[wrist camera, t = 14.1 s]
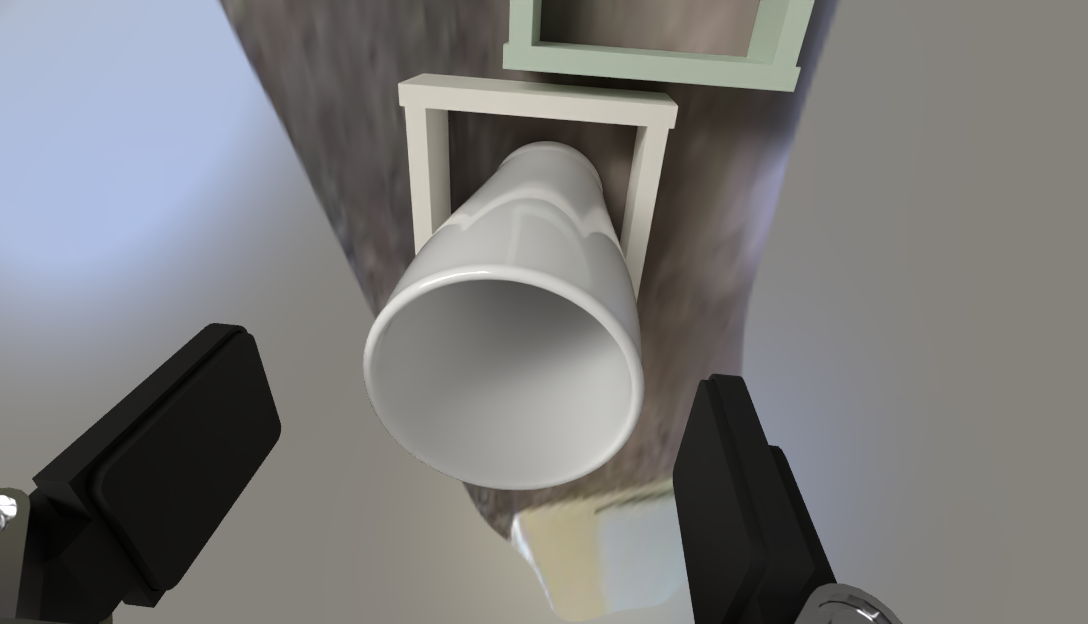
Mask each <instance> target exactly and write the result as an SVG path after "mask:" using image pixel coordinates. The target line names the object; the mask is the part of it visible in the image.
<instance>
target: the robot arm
mask: <svg viewBox="0 0 1088 624" xmlns="http://www.w3.org/2000/svg"><path fill="white" fill-rule="evenodd" d="M280 433H281V423H280V420H279V416H278V413H277V410H276V407H275V403H274V400H273V397H272V394H271V391H270V387H269V384H268V381H267V378H266V374H265V371H264V368H263V365H262V361H261V358H260V355H259V352H258V349H257V345H256V342H255V339H254V337H253V336H252V335H251V334H249V333H248V332H247V330H246V329H245V328H244V327H242V326H239V325H228V324H219V323H212V324H209V325H208V326H206V327H205V328H204V329H203V330H201V331H200V332H199V333H198V334H197V335H196V336H195V337H194V338H192V339H191V340H190V341H189V342H188V343H187V344H185V345H184V346H183V347H182V348H181V349H180V350H179V351H177V352H176V353H175V354H174V355H173V356H172V357H171V358H169V359H168V360H167V361H166V362H165V363H164V364H163V365H161V366H160V367H159V368H158V369H157V370H156V371H155V372H153V373H152V374H151V375H150V376H149V377H148V378H147V379H145V380H144V381H143V382H142V383H141V384H140V385H139V386H137V387H136V388H135V389H134V390H133V391H132V392H131V393H130V394H128V395H127V396H126V397H125V398H124V399H123V400H121V401H120V402H119V403H118V404H117V405H116V406H115V407H113V408H112V409H111V410H110V411H109V412H108V413H107V414H105V415H104V416H103V417H102V418H101V419H100V420H99V421H97V423H95V424H94V425H93V426H92V427H91V428H89V429H88V430H87V431H86V432H85V433H84V434H83V435H81V436H80V437H79V438H78V439H77V440H76V441H75V442H73V443H72V444H71V445H70V446H69V447H68V448H67V449H65V450H64V451H63V452H62V453H61V454H60V455H59V456H57V457H56V458H55V459H54V460H53V461H52V462H51V463H49V464H48V465H47V466H46V467H45V468H44V469H43V470H41V471H40V472H39V473H38V474H37V475H36V476H35V477H33V479H32V480H33V481H34V482H35V484H36V485H37V486H38V488H37V489H36V490H34V491H33V492H32V493H31V494H30V495H29V496H28V495H27V494H26V493H25V492H23V491H22V490H19V489H15V488H0V624H113V618H112V617H113V616H112V612H113V611H114V610H115V608H116V607H117V606H118V604H119V603H120V602H121V600H123V602H124V603H125V604H128V605H136V606H145V607H152V608H154V607H155V606H156V604H157V603H158V601H159V600H160V599H161V597H162V596H163V594H164V593H165V592H166V590H170V589H172V588H173V587H175V586H176V585H177V584H178V583H179V581H180V580H181V579H182V577H183V576H184V574H185V573H186V572H187V570H188V569H189V567H190V566H191V564H192V563H193V561H194V560H195V559H196V557H197V556H198V554H199V553H200V551H201V550H202V549H203V547H204V546H205V544H206V543H207V542H208V540H209V539H210V537H211V536H212V534H213V533H214V531H215V530H216V529H217V527H218V526H219V524H220V523H221V521H222V520H223V518H224V517H225V516H226V514H227V513H228V511H229V510H230V508H231V507H232V506H233V504H234V503H235V501H236V500H237V498H238V497H239V495H240V494H241V493H242V491H243V490H244V488H245V487H246V486H247V484H248V483H249V481H250V480H251V478H252V477H253V476H254V474H255V473H256V471H257V470H258V468H259V467H260V466H261V464H262V462H263V461H264V460H265V458H266V457H267V456H268V454H269V453H270V451H271V450H272V448H273V447H274V445H275V444H276V443H277V441H278V439H279V437H280ZM673 487H674V494H675V500H676V506H677V513H678V519H679V525H680V532H681V538H682V544H683V551H684V557H685V563H686V570H687V576H688V582H689V589H690V595H691V602H692V607H693V614H694V620H695V624H902V622H901V621H900V620H899V619H898V618H897V617H896V615H895V614H894V613H893V612H892V611H891V610H890V609H889V608H888V607H886V606H885V605H884V604H883V603H882V602H880V601H879V600H878V599H877V598H875V597H873V596H872V595H869V594H868V593H866V592H864V591H863V590H861V589H859V588H855V587H852V586H849V585H846V584H837V582H836V579H835V577H834V574H833V572H832V570H831V567H830V564H829V562H828V560H827V557H826V555H825V553H824V550H823V547H822V545H821V542H820V540H819V538H818V535H817V532H816V530H815V527H814V525H813V523H812V520H811V518H810V515H809V513H808V510H807V508H806V505H805V503H804V501H803V498H802V495H801V493H800V491H799V488H798V486H797V483H796V481H795V478H794V476H793V473H792V471H791V469H790V466H789V463H788V461H787V459H786V457H785V455H784V453H783V451H782V450H781V449H780V448H779V447H778V446H772V445H768V442H767V440H766V437H765V435H764V432H763V429H762V426H761V424H760V421H759V419H758V416H757V413H756V411H755V408H754V405H753V403H752V400H751V397H750V395H749V392H748V390H747V387H746V384H745V382H744V380H743V378H742V377H740V376H732V375H722V374H712V375H711V376H710V377H709V380H701V381H700V383H699V386H698V389H697V392H696V396H695V399H694V402H693V405H692V409H691V412H690V415H689V419H688V422H687V425H686V429H685V432H684V435H683V439H682V442H681V445H680V449H679V452H678V455H677V459H676V462H675V465H674V469H673Z"/></svg>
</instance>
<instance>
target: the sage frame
mask: <svg viewBox="0 0 1088 624" xmlns="http://www.w3.org/2000/svg"><path fill="white" fill-rule="evenodd" d="M814 1H815V0H760V4H759V8H758V12H757V16H756V20H755V24H754V28H753V33H752V37H751V41H750V45H749V49H748V53H747V57H737V56H724V55H711V54H699V53H686V52H673V51H660V50H647V49H635V48H622V47H609V46H596V45H584V44H571V43H558V42H545V41H540V23H541V4H542V0H510V28H509V42H508V43H505V44H504V47H503V69H514V70H527V71H539V72H552V73H564V74H577V75H589V76H602V77H614V78H626V79H639V80H651V81H664V82H676V83H689V84H701V85H714V86H726V87H739V88H751V89H763V90H776V91H788V92H794V90H795V86H796V83H797V80H798V76H799V73H800V69H801V67H797V66H796V63H797V60H798V56H799V53H800V49H801V46H802V43H803V39H804V36H805V32H806V29H807V25H808V22H809V19H810V15H811V12H812V8H813V5H814Z"/></svg>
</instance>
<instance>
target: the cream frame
mask: <svg viewBox="0 0 1088 624" xmlns="http://www.w3.org/2000/svg"><path fill="white" fill-rule="evenodd" d="M398 89H399V102H400V106H405V114H406V128H407V142H408V156H409V169H410V183H411V197H412V210H413V224H414V238H415V252H416V255H417V254H418V252H419V251H420V250H421V248H422V247H423V246H424V244H425V243H426V242H427V241H428V239H429V238H430V237H431V236H432V235H433V234H434V233H435V231H436V230H437V229H438V228H439V227H440V226H441V225H442V224H443V223H444V222H445V221H446V220H447V219H448V218H449V217H450V216H451V198H450V167H449V135H448V110H456V111H468V112H480V113H491V114H503V115H515V116H527V117H539V118H551V119H563V120H575V121H587V122H599V123H611V124H623V125H635V126H638V128H637V134H636V141H635V147H634V154H633V160H632V167H631V173H630V180H629V186H628V193H627V199H626V206H625V212H624V219H623V225H622V232H621V238H620V246H621V249H622V252H623V255H624V258H625V261H626V264H627V267H628V270H629V274H630V277H631V281H632V285H633V289H634V294H635V298H636V303H637V298H638V292H639V287H640V282H641V276H642V271H643V265H644V260H645V255H646V249H647V244H648V238H649V233H650V227H651V222H652V217H653V211H654V206H655V200H656V195H657V190H658V184H659V179H660V173H661V168H662V162H663V157H664V152H665V146H666V141H667V135H668V130H669V128H671V129H674V127H675V121H676V116H677V111H678V105H677V104H676V103H675V102H674V101H673V100H672V99H671V98H670V97H669V95H668V94H667V93H660V92H647V91H635V90H623V89H610V88H598V87H586V86H573V85H561V84H549V83H536V82H524V81H512V80H499V79H487V78H474V77H462V76H450V75H437V74H425V73H424V74H421V75H419V76H416V77H413V78H411V79H408V80H406V81H403V82H400V83H398Z"/></svg>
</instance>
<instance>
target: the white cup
mask: <svg viewBox="0 0 1088 624" xmlns="http://www.w3.org/2000/svg"><path fill="white" fill-rule="evenodd" d="M363 375H364V383H365V387H366V391H367V394H368V397H369V400H370V403H371V405H372V407H373V409H374V411H375V413H376V415H377V417H378V418H379V420H380V422H381V423H382V425H383V426H384V427H385V429H386V430H387V431H388V433H389V434H390V435H391V436H392V437H393V438H394V439H395V440H396V441H397V442H398V443H399V444H400V445H401V446H402V447H403V448H404V449H405V450H406V451H408V452H409V453H410V454H411V455H413V456H414V457H415V458H417V459H418V460H420V461H421V462H423V463H424V464H426V465H428V466H429V467H431V468H433V469H435V470H437V471H439V472H441V473H443V474H445V475H447V476H450V477H452V478H455V479H458V480H460V481H463V482H466V483H470V484H474V485H478V486H483V487H488V488H495V489H505V490H531V489H541V488H547V487H552V486H557V485H561V484H564V483H567V482H570V481H573V480H576V479H578V478H581V477H583V476H585V475H587V474H589V473H591V472H593V471H594V470H596V469H597V468H599V467H601V466H602V465H603V464H605V463H606V462H607V461H609V460H610V459H611V458H612V457H613V456H614V455H615V454H617V453H618V451H619V450H620V449H621V448H622V447H623V446H624V445H625V443H626V442H627V440H628V439H629V438H630V436H631V435H632V433H633V431H634V429H635V427H636V425H637V423H638V420H639V417H640V415H641V411H642V407H643V401H644V373H643V354H642V341H641V332H640V324H639V316H638V309H637V304H636V298H635V294H634V289H633V285H632V281H631V277H630V274H629V270H628V267H627V264H626V261H625V258H624V255H623V252H622V249H621V246H620V243H619V241H618V238H617V235H616V232H615V230H614V227H613V224H612V221H611V218H610V215H609V212H608V209H607V206H606V203H605V200H604V193H603V187H602V183H601V180H600V177H599V175H598V173H597V171H596V169H595V167H594V166H593V164H592V163H591V162H590V161H589V160H588V159H587V158H586V157H585V156H584V155H583V154H582V153H581V152H579V151H578V150H576V149H575V148H573V147H571V146H568V145H566V144H563V143H559V142H554V141H538V142H533V143H530V144H527V145H524V146H522V147H520V148H518V149H516V150H515V151H514V152H512V153H511V154H510V155H509V156H507V157H506V159H505V160H504V161H503V162H502V163H501V165H500V166H499V167H498V169H497V171H496V172H495V173H494V174H493V175H492V176H491V177H490V178H489V179H488V180H487V181H486V182H485V183H484V184H483V185H482V186H481V187H480V188H479V189H478V190H477V191H476V192H475V193H474V194H473V195H472V196H471V197H470V198H469V199H467V200H466V201H465V202H464V203H463V204H462V205H461V206H460V207H459V208H458V209H457V210H456V211H455V212H454V213H453V214H452V215H451V216H450V217H449V218H448V219H447V220H446V221H445V222H444V223H443V224H442V225H441V226H440V227H439V228H438V229H437V230H436V231H435V233H434V234H433V235H432V236H431V237H430V238H429V239H428V241H427V242H426V243H425V244H424V246H423V247H422V248H421V250H420V251H419V252H418V254H417V255H416V256H415V258H414V259H413V260H412V262H411V263H410V265H409V266H408V268H407V269H406V270H405V272H404V274H403V275H402V277H401V278H400V280H399V281H398V283H397V285H396V286H395V288H394V290H393V291H392V293H391V295H390V297H389V298H388V300H387V302H386V304H385V305H384V307H383V309H382V311H381V312H380V314H379V315H378V317H377V319H376V320H375V322H374V324H373V326H372V328H371V330H370V333H369V335H368V338H367V341H366V345H365V349H364V357H363Z"/></svg>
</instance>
